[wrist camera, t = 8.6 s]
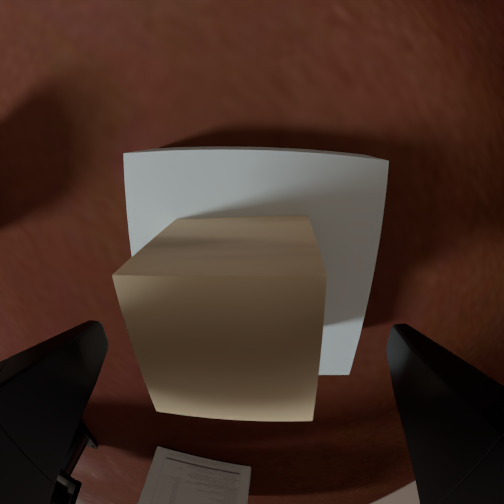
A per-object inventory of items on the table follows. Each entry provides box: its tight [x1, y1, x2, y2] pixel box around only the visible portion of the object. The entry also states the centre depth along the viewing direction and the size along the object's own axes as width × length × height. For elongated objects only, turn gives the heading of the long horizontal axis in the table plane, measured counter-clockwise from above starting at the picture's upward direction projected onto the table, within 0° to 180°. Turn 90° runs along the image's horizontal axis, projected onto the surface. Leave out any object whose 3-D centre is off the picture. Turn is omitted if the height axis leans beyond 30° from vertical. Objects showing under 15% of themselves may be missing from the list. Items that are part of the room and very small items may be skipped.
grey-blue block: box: [123, 146, 389, 375], centre depth 14 cm, size 10×10×4 cm
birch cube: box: [112, 215, 327, 421], centre depth 10 cm, size 5×5×5 cm
